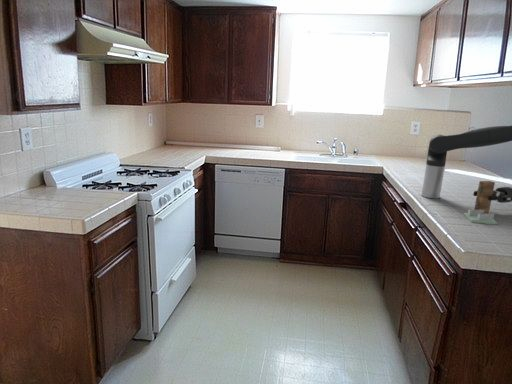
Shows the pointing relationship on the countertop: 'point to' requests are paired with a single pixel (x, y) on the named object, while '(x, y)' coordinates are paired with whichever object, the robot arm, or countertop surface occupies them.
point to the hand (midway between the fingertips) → (481, 195)
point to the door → (484, 195)
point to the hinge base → (474, 219)
